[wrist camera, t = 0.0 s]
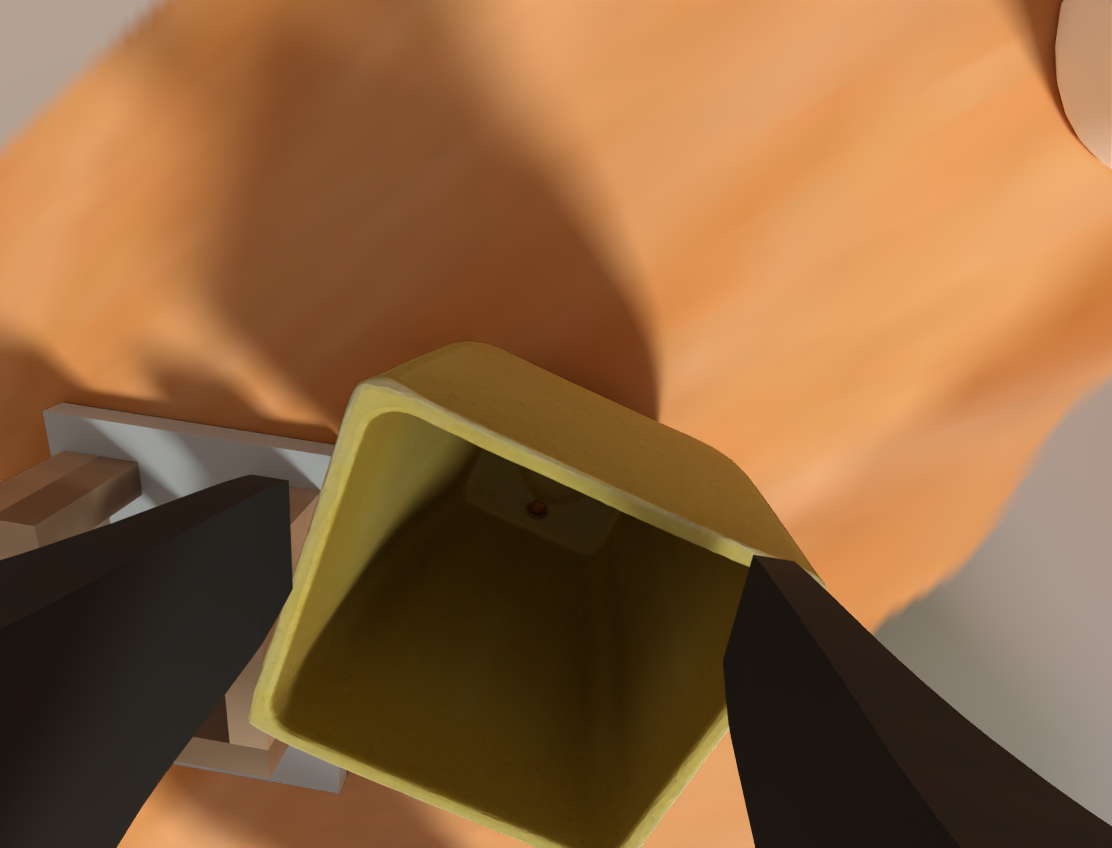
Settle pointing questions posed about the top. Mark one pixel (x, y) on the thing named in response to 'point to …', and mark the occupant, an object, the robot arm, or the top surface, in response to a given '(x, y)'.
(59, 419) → the stand
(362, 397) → the flower pot
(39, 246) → the top surface
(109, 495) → the c link
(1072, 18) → the bottle
